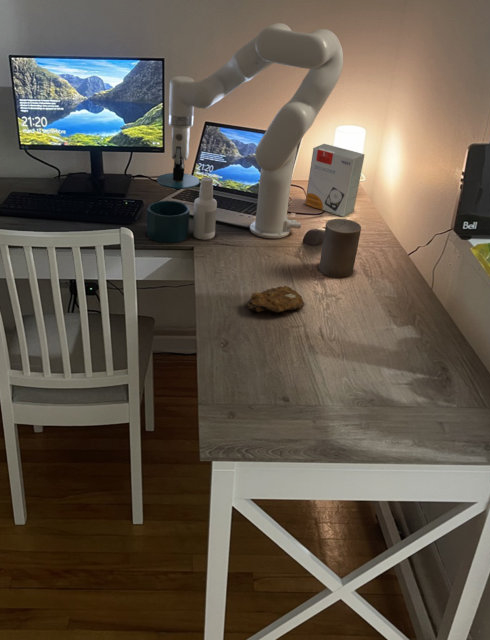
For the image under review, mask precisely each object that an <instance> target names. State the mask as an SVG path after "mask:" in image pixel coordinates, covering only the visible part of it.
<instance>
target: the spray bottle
mask: <svg viewBox="0 0 490 640" xmlns="http://www.w3.org/2000/svg"><path fill="white" fill-rule="evenodd" d="M213 180H214V178H212V177H209V176H204V177H203V176H202V177H201V179H200V184H199V192H198V193H199V194H198V197H197V198H195V199H194V201H193V221H192V236H193V237H194V238H196V239H199V240H211V239H213V238H215V235H216V222H217V207H218V201H217V199H215V198H214V185H213Z"/></svg>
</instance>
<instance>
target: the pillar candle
mask: <svg viewBox="0 0 490 640" xmlns="http://www.w3.org/2000/svg"><path fill="white" fill-rule="evenodd" d="M324 228H325V229H324V234H323V239H322V246H321V252H320V258H319V264H318V269H319V271H320V272H321V273H322V274H323V275H325V276H328V277H331V278H349V277H351V276H352V275H353V274H354V267H355V263H356V258H357V253H358V249H359V242H360V237H361V232H362V226H361V224H360V223H358V222H357V221H354V220H351V219H347V218H331V219H328V220H327V221H326V222H325V227H324Z"/></svg>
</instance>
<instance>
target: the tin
mask: <svg viewBox="0 0 490 640" xmlns="http://www.w3.org/2000/svg"><path fill="white" fill-rule="evenodd" d="M146 210H147V211H146V213H147V215H146V216H147V217H146V234H147V237H148V238H149V239H150V240H152V241H154V242H158V243H164V244H174V243H180V242H183V241H185V240H186V239H188V237H189V233H190V232H189V231H190V211H191V210H190V207H189V206H188V204H186V203H183V202H180V201H175V200H159V201H154V202H152V203H150V204H149V205H147V208H146Z"/></svg>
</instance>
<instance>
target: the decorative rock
mask: <svg viewBox="0 0 490 640" xmlns="http://www.w3.org/2000/svg"><path fill="white" fill-rule="evenodd" d="M304 304H305V302H304V300H303V296H302V295H300V294H299V293H298V292H297V291H296V290H295V289H292V287H290V286H287V285H284V286H277V287H272V288H269V289H266V290H263V291H261V292H252V293H251V297H250V301H248V303H247V304H246V306H248V309H249V310H252V311H254V312H255V313H260V312H265V311H271V312H272V313H277V314H278V313H280V312H281V313H282V312H286V311H288V310H290V311H293V310H297V311H301V310H302V309H303V307H305V306H304Z"/></svg>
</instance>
